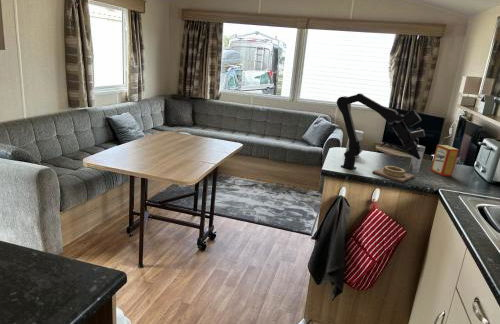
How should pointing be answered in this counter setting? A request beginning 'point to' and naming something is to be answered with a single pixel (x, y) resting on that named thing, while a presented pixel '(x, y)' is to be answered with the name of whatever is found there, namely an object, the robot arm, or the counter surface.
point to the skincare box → (359, 136)
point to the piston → (414, 161)
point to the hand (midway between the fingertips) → (420, 158)
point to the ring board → (393, 173)
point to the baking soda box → (444, 160)
